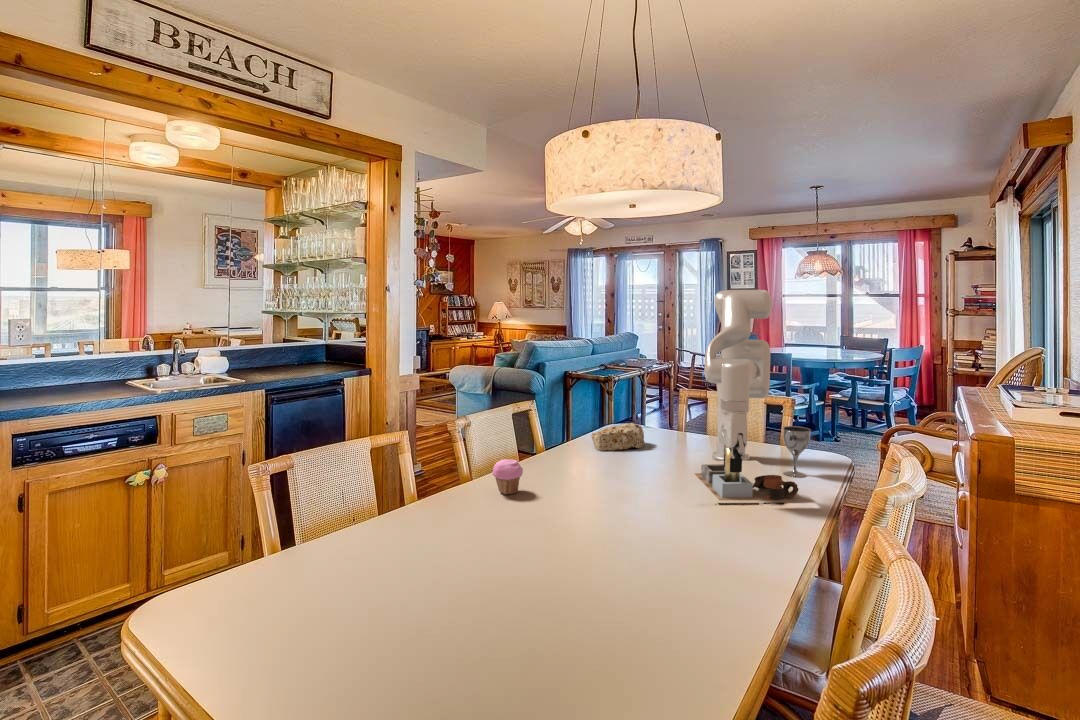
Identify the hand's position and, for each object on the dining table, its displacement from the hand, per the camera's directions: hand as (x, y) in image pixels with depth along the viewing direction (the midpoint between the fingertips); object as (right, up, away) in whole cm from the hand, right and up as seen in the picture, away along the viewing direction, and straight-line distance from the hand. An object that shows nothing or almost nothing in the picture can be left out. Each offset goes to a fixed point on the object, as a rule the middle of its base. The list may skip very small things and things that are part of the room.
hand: (732, 468), depth 158 cm
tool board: (0, -8, +7) cm, 10 cm away
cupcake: (-64, -8, +6) cm, 65 cm away
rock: (-24, -3, +59) cm, 64 cm away
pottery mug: (+11, -9, -1) cm, 15 cm away
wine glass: (+28, -6, +22) cm, 36 cm away
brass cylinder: (0, -5, 0) cm, 5 cm away
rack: (0, -7, +1) cm, 7 cm away
